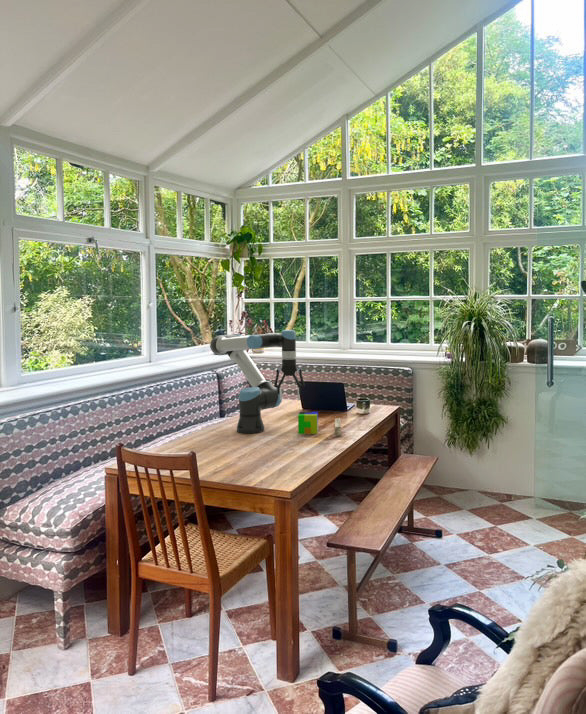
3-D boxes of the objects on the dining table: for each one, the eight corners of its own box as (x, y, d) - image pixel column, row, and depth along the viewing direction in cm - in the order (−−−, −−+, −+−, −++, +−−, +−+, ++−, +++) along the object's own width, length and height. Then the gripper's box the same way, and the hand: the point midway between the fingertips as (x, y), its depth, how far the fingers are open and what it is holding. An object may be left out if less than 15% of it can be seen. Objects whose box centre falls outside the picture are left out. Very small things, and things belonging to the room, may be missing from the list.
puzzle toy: (318, 429, 343) (317, 411, 342) (317, 433, 333) (316, 415, 332) (300, 429, 344) (299, 411, 343) (298, 433, 334) (298, 415, 333)
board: (335, 436, 327) (335, 426, 326) (335, 427, 349) (335, 418, 348) (340, 436, 327) (340, 426, 326) (340, 427, 348) (340, 418, 348)
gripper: (268, 359, 332) (268, 401, 335) (308, 359, 331) (309, 401, 333) (269, 358, 340) (270, 398, 342) (309, 357, 338) (309, 398, 341)
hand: (289, 399), depth 338 cm, fingers open, 9 cm apart
